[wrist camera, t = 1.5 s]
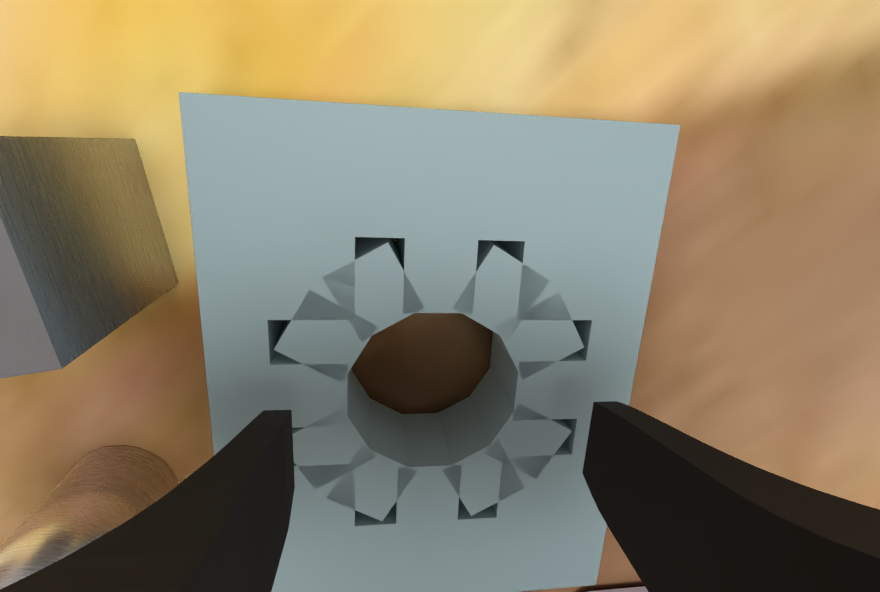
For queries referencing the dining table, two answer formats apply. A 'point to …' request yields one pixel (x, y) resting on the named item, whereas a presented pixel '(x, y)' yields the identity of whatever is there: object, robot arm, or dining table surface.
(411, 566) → the socket block
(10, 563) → the round bit
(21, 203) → the square bar
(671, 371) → the dining table surface
